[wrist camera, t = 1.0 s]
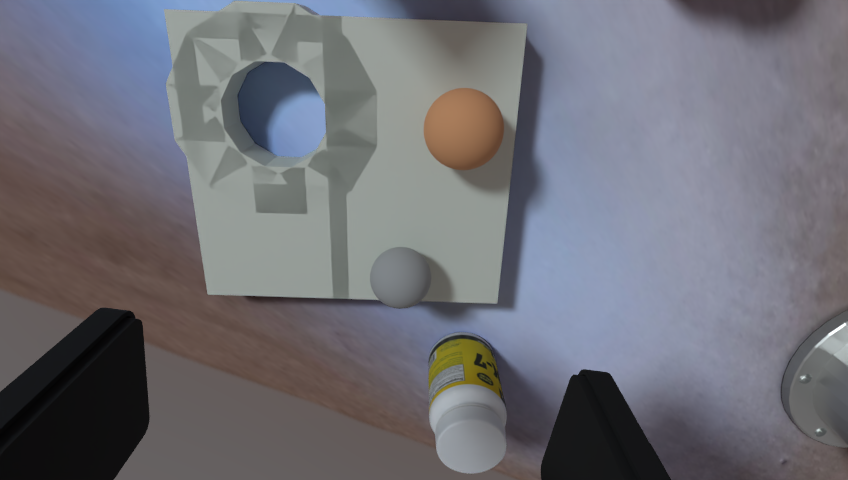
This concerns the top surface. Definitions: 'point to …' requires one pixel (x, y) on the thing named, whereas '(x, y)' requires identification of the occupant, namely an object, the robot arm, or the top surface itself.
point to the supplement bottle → (466, 403)
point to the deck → (342, 151)
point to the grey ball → (400, 277)
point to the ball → (463, 129)
